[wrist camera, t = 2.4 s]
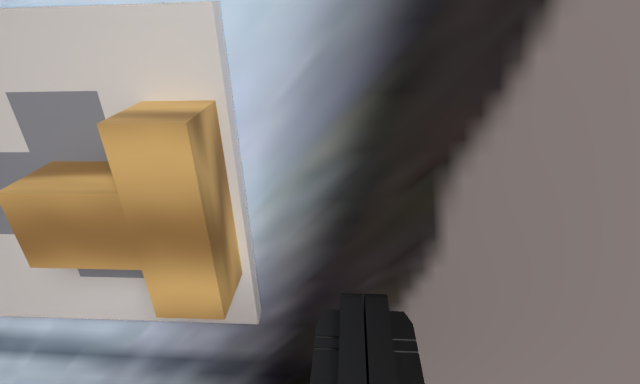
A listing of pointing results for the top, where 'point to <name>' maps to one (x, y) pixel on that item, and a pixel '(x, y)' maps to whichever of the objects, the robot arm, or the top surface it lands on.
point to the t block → (140, 208)
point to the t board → (84, 139)
